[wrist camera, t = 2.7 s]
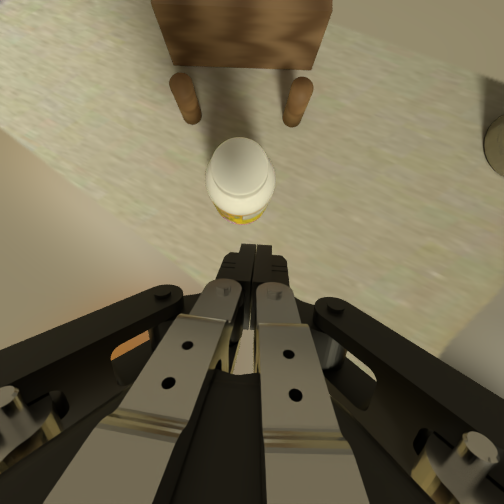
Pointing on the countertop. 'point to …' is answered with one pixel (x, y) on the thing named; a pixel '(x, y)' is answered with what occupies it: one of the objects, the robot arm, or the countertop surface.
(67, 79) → the countertop surface
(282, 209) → the countertop surface
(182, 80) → the dowel gate
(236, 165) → the supplement bottle
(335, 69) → the countertop surface
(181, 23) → the walnut rail
